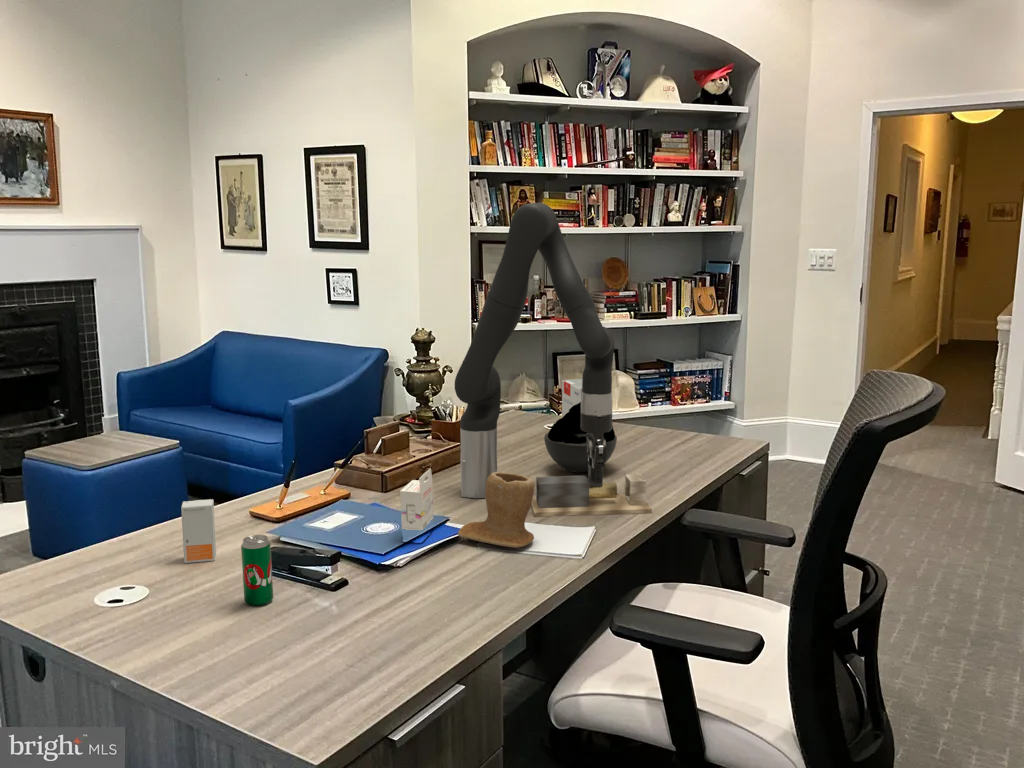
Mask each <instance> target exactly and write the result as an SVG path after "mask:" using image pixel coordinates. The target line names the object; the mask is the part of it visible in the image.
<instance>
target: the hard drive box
mask: <svg viewBox="0 0 1024 768" xmlns="http://www.w3.org/2000/svg"><path fill="white" fill-rule="evenodd" d="M581 397H582V378H571V379H562V380H561V418H563V416H564V415H565V414H566V413H568V412H569V409H570V408H571V407H572V406H573V405H576V404H578V403H580V402H581Z"/></svg>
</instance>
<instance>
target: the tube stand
mask: <svg viewBox="0 0 1024 768" xmlns="http://www.w3.org/2000/svg"><path fill="white" fill-rule="evenodd" d="M535 479H536V481H535V482H536V488H535V490H536V494H535V496H533V499H532V503H531V506H530V509H531V510H532V513H533V517H534V518H535V517H562V516H563V517H564V516H565V517H566V516H597V515H598V516H600V515H625V514H626V515H629V514H631V515H633V513H637V514H652V507H651V506H650V505H649V504H648V503H647V480H646V479H645V477H643V475H642V474H640V473H635V474H633V473H632V474H631V473H630V474H629V473H628V474H625V475H624V493H623V494H622V493H620V494H618V493H617V497H616V498H601V499H589V481H588V477H587V476H586V475H559V476H558V475H557V476H556V475H555V476H554V475H552V476H550V475H549V476H536V478H535Z"/></svg>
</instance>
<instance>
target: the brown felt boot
mask: <svg viewBox="0 0 1024 768" xmlns="http://www.w3.org/2000/svg"><path fill="white" fill-rule="evenodd" d="M534 494H535V483H534V481H533V480H532V479H531V478H530V477H528V476H526V475H523V474H519V473H518V474H517V473H511V472H502V471H501V472H500V471H497V472H494V473H491V474H490V476H489V477H488V479H487V482H486V489H485V495H486V498H485V504H486V510H487V518H486V519H485V520H483V521H482V520H481V521H471V522H468V523H466V524H465V525H463V526H462V527H461V528H459V530H458V533H457V536H458V537H460V538H464V539H467V540H472V541H476V542H481V543H485V544H490V545H494V546H499V547H508V548H522V547H525V546H528V545H529V544H531V543H532V542H533V541H534V539H535V536H534V534H533V533H532V532H530V531H528V529H526V526H525V522H526V518H527V516H528V513H529V511H530V509H531V503H532V499H533V497H534Z"/></svg>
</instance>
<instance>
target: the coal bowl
mask: <svg viewBox="0 0 1024 768" xmlns="http://www.w3.org/2000/svg"><path fill="white" fill-rule="evenodd" d="M586 433H588V432H585V431H582V430H581V402H580V403H578V404H576V405H573V406H572V407H571V408H570V409H569V412H568V413H566V414H565V415H564V416H563V418H562V417H561V418H559V419H557V420H556V421H555V422H554V423H553V424H552V426H551V428H550V429H549V431H548V432H547V433H545V434H544V444H545V447H546V450H547V453H548V455H549V456H550V458H551V459H552V460H553V461H554V462H555V463H556V464H557V465H558V466H559V467H561V468H563V469H565V470H567V471H569V472H574V473H579V474H582V473H588V463H589V462H588V457H587V442H586ZM603 438H604V439H605V440H606V447H607V449H606V459H605V464H606V463H607V462H608V461H609V460H610V458H611V457H612V456H613V453H614V451H615V449H616V445H617V442H618V441H617V439H618V438H617V435H616V433H615V430H614V427H613V424H612V430H611V431H609V432H605V433H603ZM598 463H600V460H599V462H598Z"/></svg>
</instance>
